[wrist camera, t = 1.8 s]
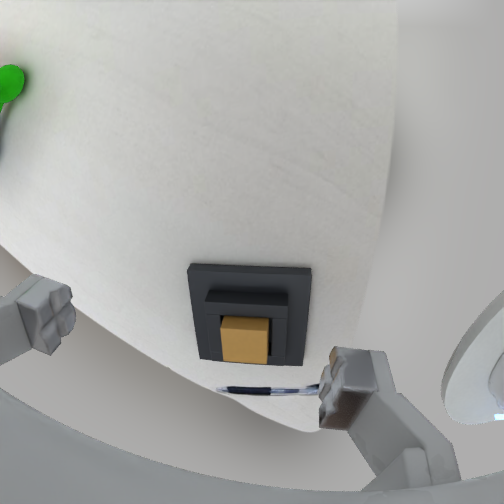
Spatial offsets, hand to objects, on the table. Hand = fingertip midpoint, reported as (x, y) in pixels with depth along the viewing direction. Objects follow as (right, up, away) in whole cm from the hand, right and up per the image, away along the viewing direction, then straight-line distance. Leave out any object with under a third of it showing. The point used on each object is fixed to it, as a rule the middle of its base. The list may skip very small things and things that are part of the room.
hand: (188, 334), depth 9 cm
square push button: (+2, -3, +19) cm, 20 cm away
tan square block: (+1, -4, +17) cm, 18 cm away
